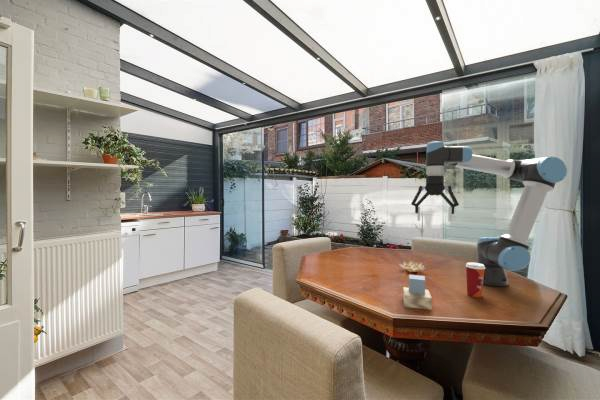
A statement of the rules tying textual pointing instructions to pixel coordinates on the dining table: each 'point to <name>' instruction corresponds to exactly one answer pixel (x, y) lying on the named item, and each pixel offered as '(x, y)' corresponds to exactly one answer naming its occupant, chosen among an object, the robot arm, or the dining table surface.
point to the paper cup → (475, 278)
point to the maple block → (417, 299)
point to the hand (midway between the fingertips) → (434, 220)
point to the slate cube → (417, 284)
